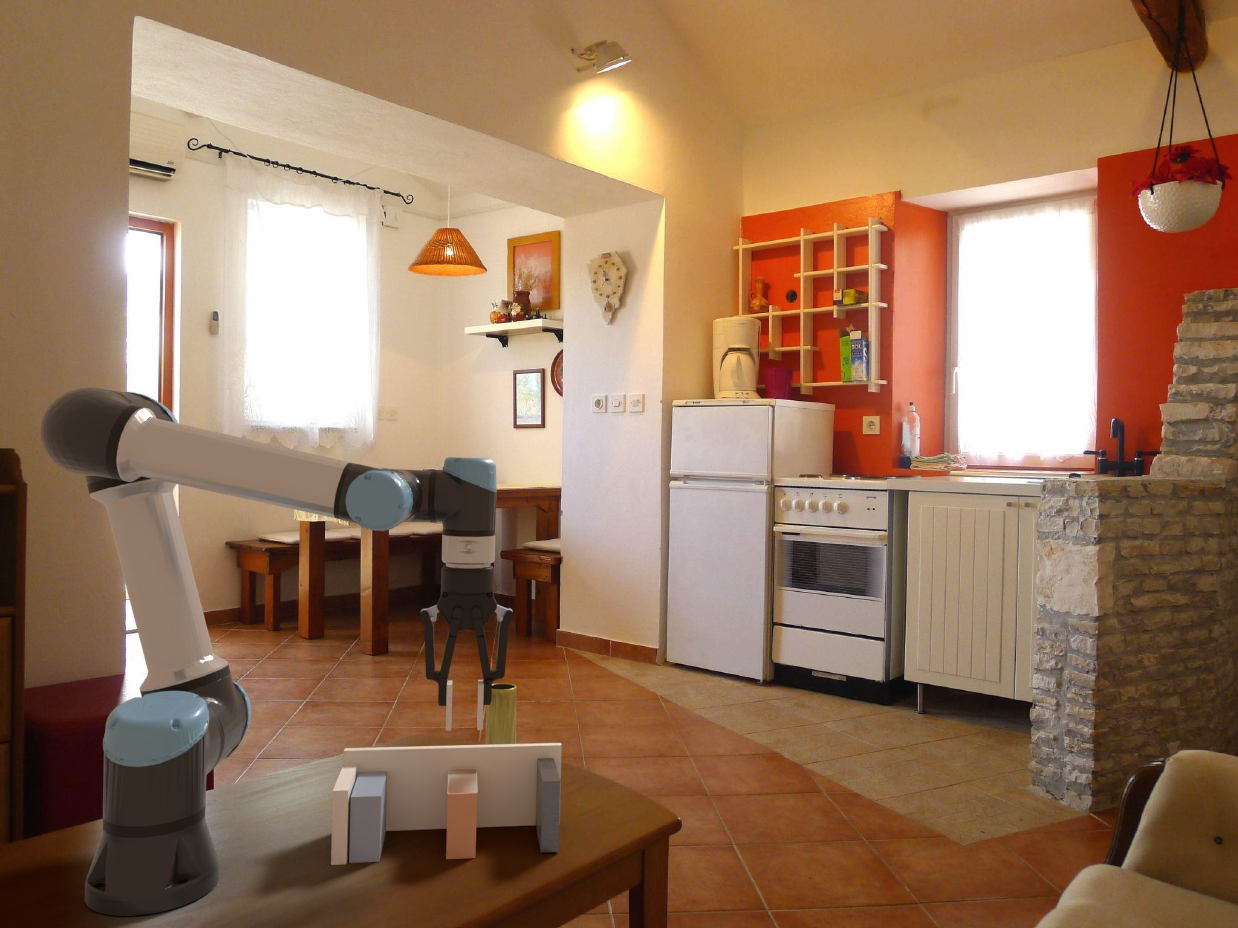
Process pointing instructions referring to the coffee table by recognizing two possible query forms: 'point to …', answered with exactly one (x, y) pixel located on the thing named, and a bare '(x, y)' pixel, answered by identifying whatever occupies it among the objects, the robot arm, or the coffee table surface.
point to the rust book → (461, 814)
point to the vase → (501, 715)
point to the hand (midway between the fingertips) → (464, 727)
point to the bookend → (547, 805)
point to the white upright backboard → (442, 785)
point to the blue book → (368, 817)
